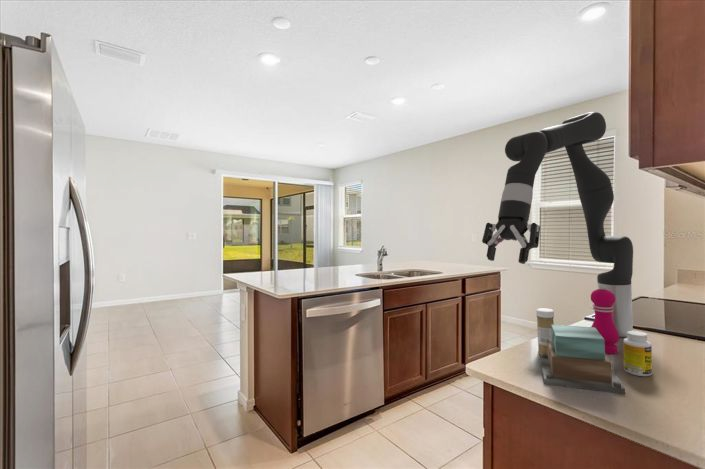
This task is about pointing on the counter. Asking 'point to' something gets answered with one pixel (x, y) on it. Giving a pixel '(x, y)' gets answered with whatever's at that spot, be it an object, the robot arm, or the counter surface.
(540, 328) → the sprinkles bottle
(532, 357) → the counter surface
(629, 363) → the supplement bottle
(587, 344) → the layered slab stack
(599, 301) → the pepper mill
